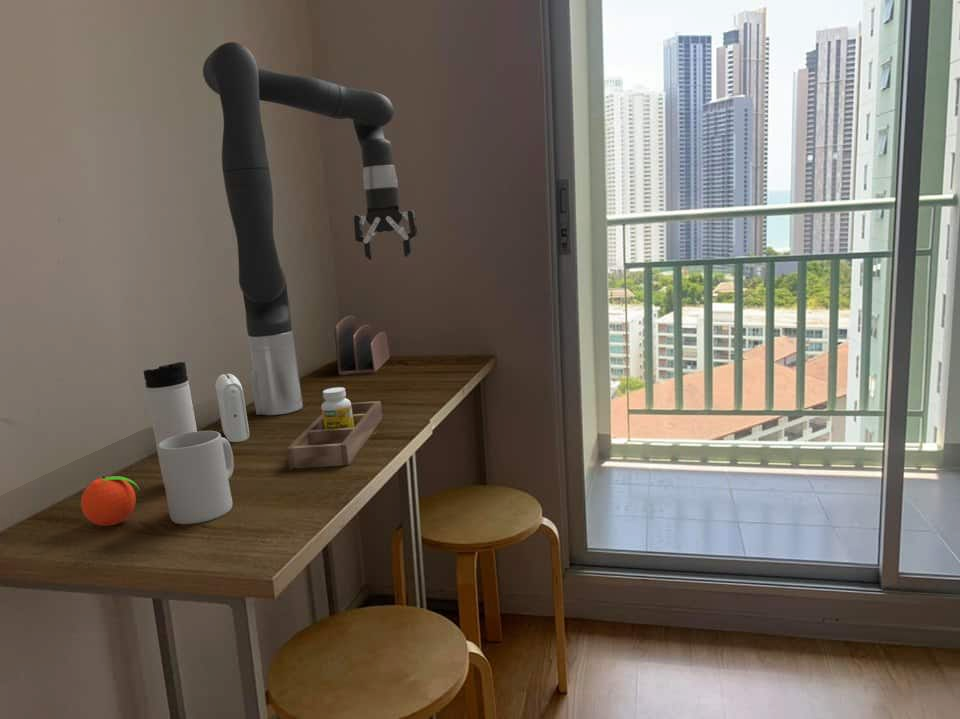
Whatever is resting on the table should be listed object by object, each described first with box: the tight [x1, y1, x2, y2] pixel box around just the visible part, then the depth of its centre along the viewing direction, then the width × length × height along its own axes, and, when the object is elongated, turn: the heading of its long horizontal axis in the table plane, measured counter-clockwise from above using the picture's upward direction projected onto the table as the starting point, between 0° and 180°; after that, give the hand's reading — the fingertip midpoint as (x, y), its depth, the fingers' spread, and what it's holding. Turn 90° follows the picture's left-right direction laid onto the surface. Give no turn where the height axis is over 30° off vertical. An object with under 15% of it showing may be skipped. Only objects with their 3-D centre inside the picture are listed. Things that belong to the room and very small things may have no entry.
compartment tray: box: [286, 400, 383, 470], centre depth 135 cm, size 10×28×4 cm, turn 176°
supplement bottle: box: [320, 386, 354, 429], centre depth 134 cm, size 5×5×10 cm
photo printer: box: [215, 373, 250, 443], centre depth 144 cm, size 10×4×12 cm, turn 27°
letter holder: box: [333, 315, 391, 376], centre depth 202 cm, size 10×20×14 cm, turn 176°
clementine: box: [80, 475, 141, 527], centre depth 104 cm, size 8×7×7 cm
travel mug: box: [143, 361, 198, 488], centre depth 117 cm, size 6×7×20 cm
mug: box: [157, 430, 235, 525], centre depth 107 cm, size 12×8×11 cm
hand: (388, 258), depth 172 cm, fingers open, 8 cm apart
